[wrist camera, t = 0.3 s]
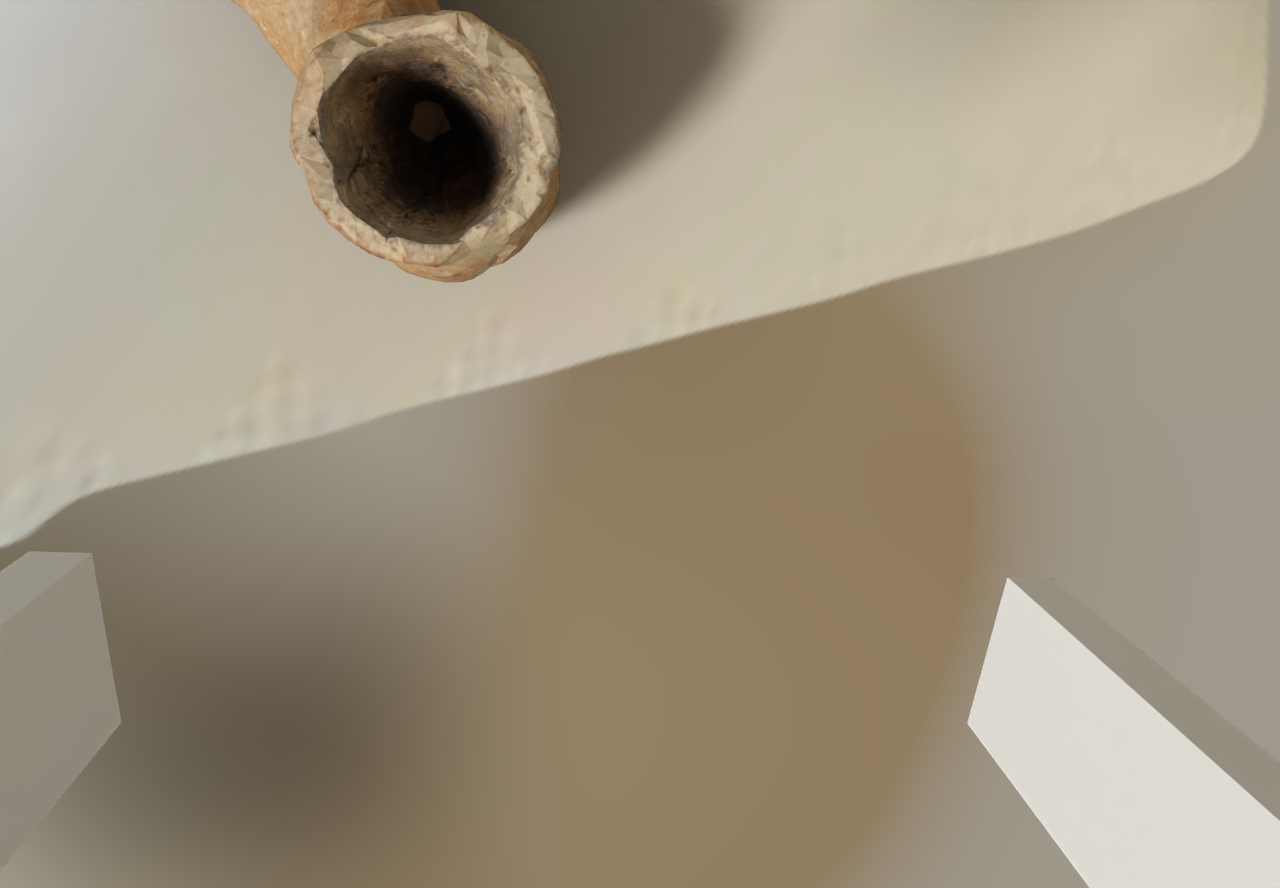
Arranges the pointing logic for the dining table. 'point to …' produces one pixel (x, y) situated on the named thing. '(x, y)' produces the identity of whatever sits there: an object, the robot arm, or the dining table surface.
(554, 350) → the dining table surface
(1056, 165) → the dining table surface
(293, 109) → the pipe
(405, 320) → the dining table surface
